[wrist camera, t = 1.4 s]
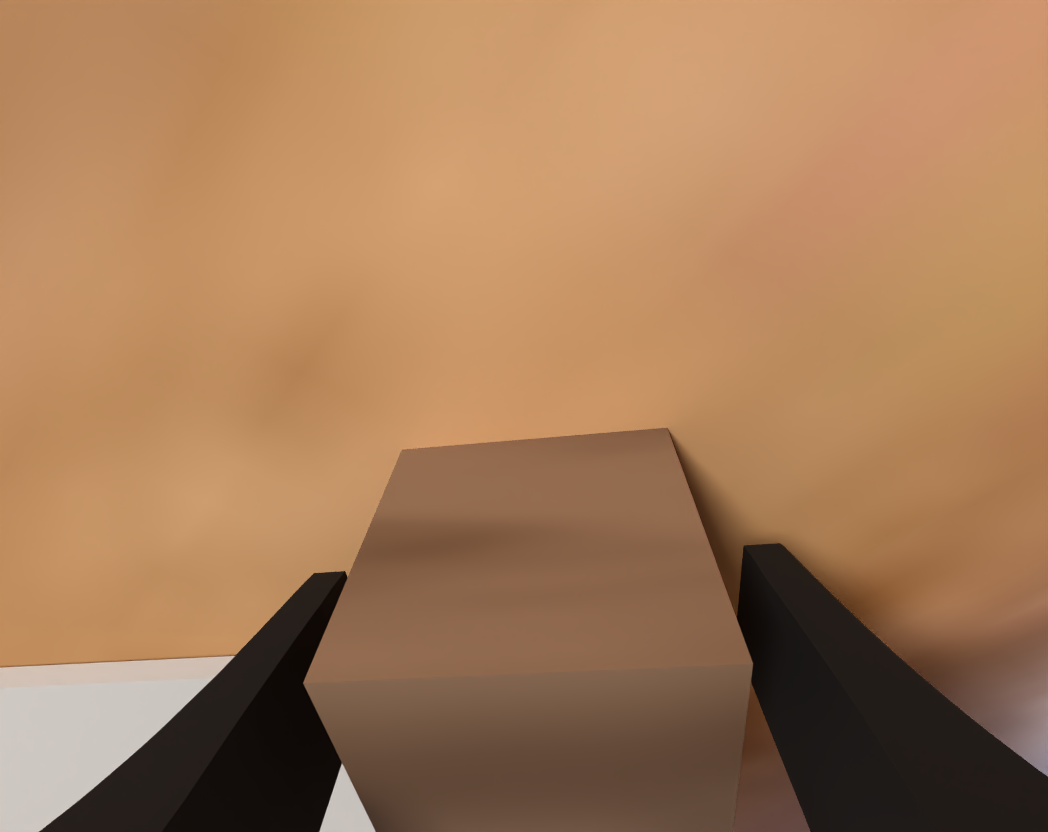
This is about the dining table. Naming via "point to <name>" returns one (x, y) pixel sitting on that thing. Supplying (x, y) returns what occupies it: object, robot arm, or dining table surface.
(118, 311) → the dining table surface
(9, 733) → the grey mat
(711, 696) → the walnut cube
